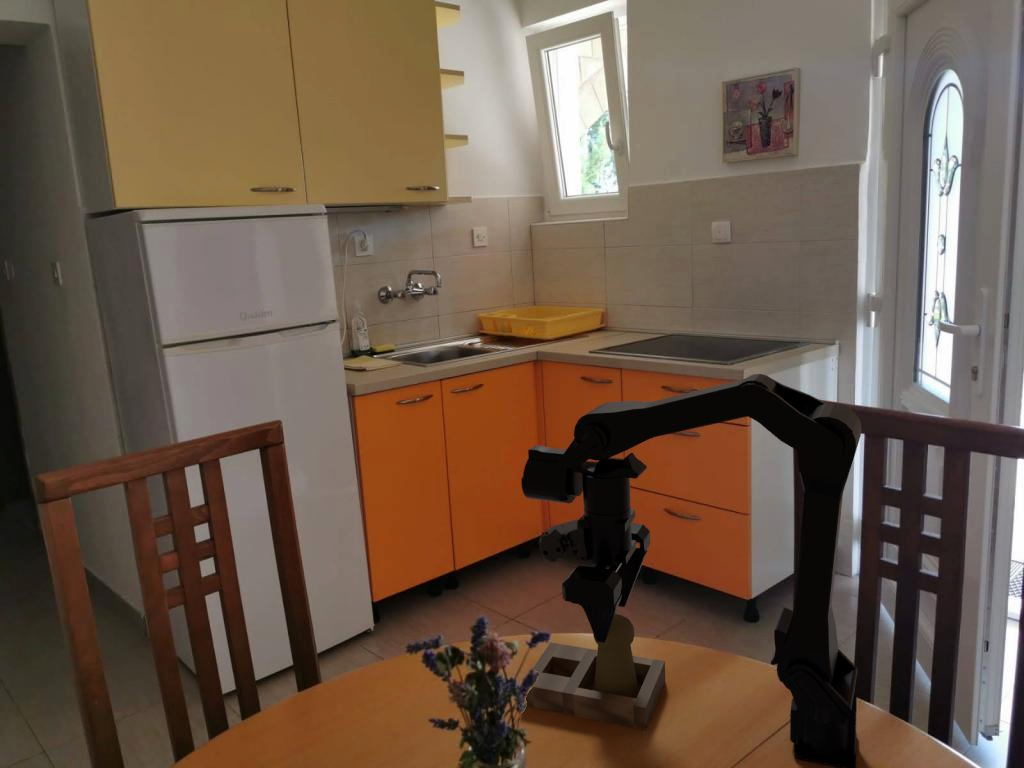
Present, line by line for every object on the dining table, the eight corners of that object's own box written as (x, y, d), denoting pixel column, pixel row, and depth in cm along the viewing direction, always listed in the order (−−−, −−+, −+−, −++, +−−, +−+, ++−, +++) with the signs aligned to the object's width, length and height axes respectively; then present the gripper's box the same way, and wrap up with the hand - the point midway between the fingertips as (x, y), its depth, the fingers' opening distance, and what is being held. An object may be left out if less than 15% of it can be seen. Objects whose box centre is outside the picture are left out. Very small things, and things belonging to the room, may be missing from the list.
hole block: (665, 681, 104) (664, 661, 104) (646, 730, 95) (645, 707, 94) (551, 661, 111) (550, 642, 110) (523, 705, 101) (521, 684, 101)
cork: (625, 717, 98) (622, 636, 95) (584, 702, 101) (580, 624, 99) (648, 692, 102) (645, 614, 100) (607, 678, 106) (604, 603, 104)
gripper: (569, 477, 108) (574, 582, 111) (517, 529, 91) (524, 651, 95) (649, 483, 104) (652, 593, 107) (610, 539, 87) (615, 666, 90)
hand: (611, 623), depth 100 cm, fingers open, 9 cm apart
